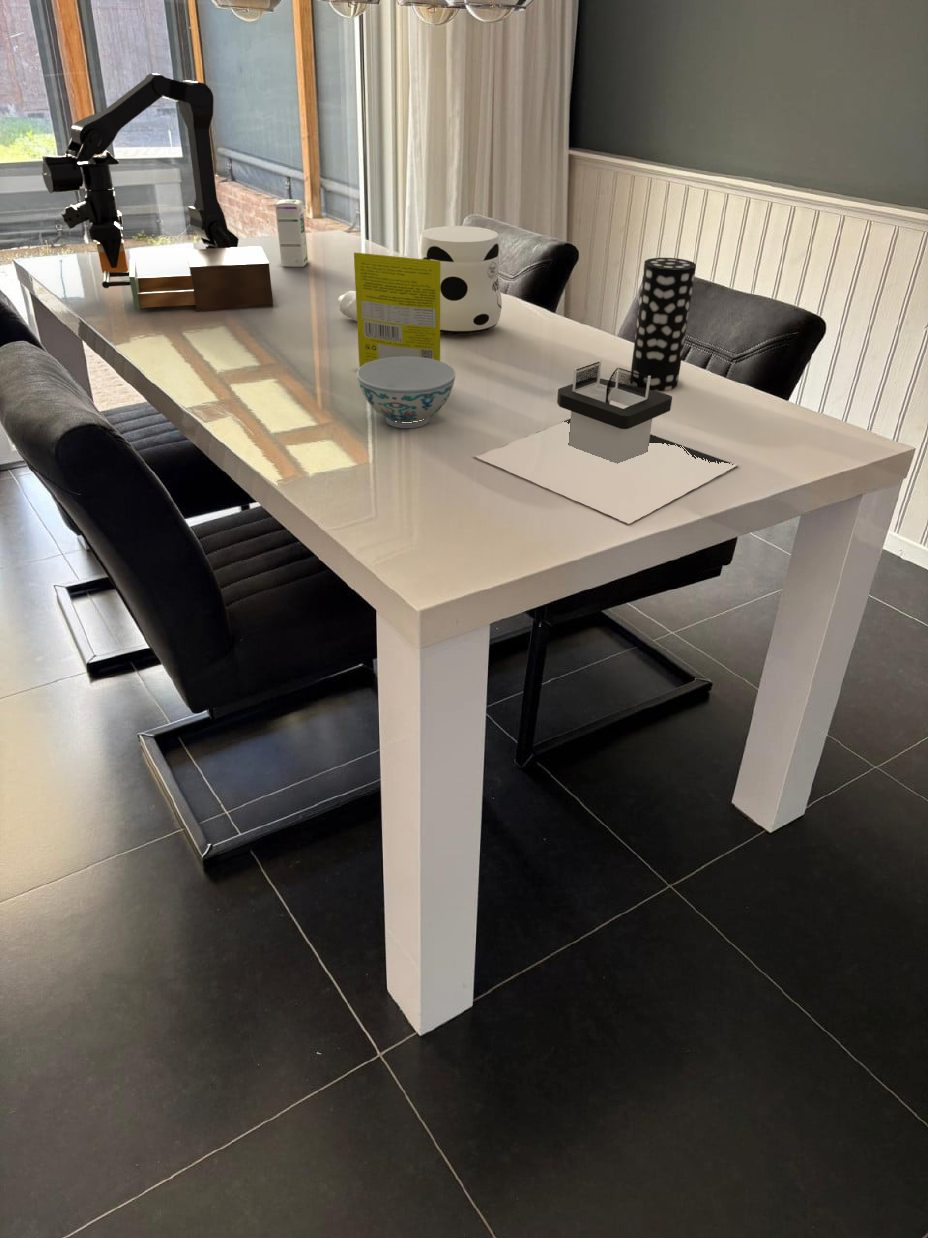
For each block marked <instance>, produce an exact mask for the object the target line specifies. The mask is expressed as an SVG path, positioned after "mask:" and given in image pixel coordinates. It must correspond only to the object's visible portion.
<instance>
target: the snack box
mask: <svg viewBox="0 0 928 1238" xmlns="http://www.w3.org/2000/svg"><path fill="white" fill-rule="evenodd" d="M96 249H97V253H98V254H97V255H98V258H99V263H100V264H99V265H100V269H101V273H102V274H103V273H104V272H105V271H108V272H128V271H129V268H130V267H129V262H128V257H127V252H126V246H125V242H124V239H122V240H121V246H120V252H119V257H118V263H117V267H116V268H112V267H111V265H110V263H109V261H108V258H107V256H106V253H105V251H104V249H103V247H102V245H101V244H100V243H99V242H98V241H96Z"/></svg>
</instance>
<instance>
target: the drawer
mask: <svg viewBox="0 0 928 1238" xmlns="http://www.w3.org/2000/svg"><path fill="white" fill-rule="evenodd" d="M128 268H129V269H128V272H108V271H105V272H104V273H102V281H101V286H102V287H103V288H104V289H108V288H110V287H124V286H125V287H126V286H129V287H130V289H131V294H132V300H133V305H134V309H135V311H138V310H139V311H140V310H141V309H142V308H143V309H144V308H145V309H146V308H161V307H162V308H163V307H179V306H196V303H195V296H194V290H193V283H192V276H191V275H190V274H182V275H181V274H180V275H165V276H164V275H162V276H161V275H160V276H143V277H142V276H141V277H140V276H139V277H138V275H139V274H138V271H137V265H136V259H135V258H130V259H129V267H128ZM117 277H118V278H121V277H128V278H129V280H115V281H114V280H112V281H111V278H117Z"/></svg>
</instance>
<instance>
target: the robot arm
mask: <svg viewBox="0 0 928 1238" xmlns="http://www.w3.org/2000/svg"><path fill="white" fill-rule="evenodd" d="M161 98H163V99H168V100H171V101H174V102H177V105H178V109H179V113H180V116H181V117H182V120H183V122H184V124H185V127H186V129H187V135H188V144H189V153H190V160H191V161H190V162H191V169H192V177H193V184H194V185H193V186H194V192H195V193H194V194H195V201H194V204H193V206H188V207H187V211H188V214H189V215H188V216H189V224H188V225H189V226H191V227H192V230H193V232H194V234H196V235H197V236H198V237H199V238H200V239H201V241H202V243H203V244H204V245H206V246H205V249H216V248H238V247H239V241H240V239H239V237H237V236H236V234H234V233H233V232H232V231H231V230H230V229H228V225H227V220H226V217H225V213H224V210H223V209H222V207H221V204H220V203H219V202H220V201H219V200H218V195H217V187H216V186H217V185H216V178H215V168H214V159H213V151H212V141H211V132H210V131H211V130H210V129H211V124H212V122H213V117H214V101H215V100H214V99H215V98H214V93H213V91H212V89H211V88H210V87H209V86H208V85H207V84H205V83H203V82H200V81H194V80H183V81H179V80H176V79H172V78H169V77H166V76H164V75H162V74H160V73H159V74H158V73H149V74H147V75H146V76H145V78H144V79H143V80H141V81H140V82H139V83H137V84H136V85H135V86H134V87H132V88H131V89H129V91H127V92H126V93H125V94H122V96H121V97H119V98H118V99H117V100H116V101H114V102H113V103H112V104H110V105H109V106H107V108H105V109H104V110H102V111H99V112H97V113H94V114H91V115H88V116H86V117H84V118H81V119H80V120H79V119H78V120H77V121H76V122H74V123H73V124H72V126H71V128H70V141H69V143H68V145H67V147H66V149H65V152H64V153H63V155H56V156H54V155H53V156H52V155H43V156H42V161H43V163H42V172H41V173H42V179H43V182H44V185H45V187H46V190H47V191H48V192H49V193H50V194H58V193H71V192H79V191H80V189H81V187H82V188H83V187H84V191H85V196H84V201H82V202H79V203H77V204H75V205H73V204H70V205H69V206H67V207H65V208H64V209H63V210H61V213H60V215H61V217H62V218H63V221H64V223H66V225H67V227H68V229H69V230H71V229H74V228H76V226H79V225H81V224H82V223H85V222H87V221H88V223H89V224H91V225H90V226H89V228H88V233H89V237H90V240H91V241H96V242H97V241H98V242H99V243H100V244H101V245H102V247H103V249H104V251H105V253H106V256H107V258H108V261H109V263H110V265H111V267H112V268H116V267H117V263H118V257H119V252H120V246H121V240H123V227H122V226H121V225H124V221H123V214H122V212H120V211H119V210H118V205H117V199H116V198H117V197H116V192H115V190H114V189H115V188H114V184H113V179H112V174H111V168H110V166H111V165H112V166H114V165H119V164H120V161H119V160H118V159H117V158H115V157H114V156H113V155H112V154H111V152H110V151H107V150H108V149H109V147H110V146H111V145H112V144H113V142H114V141H115V139H116V138H117V136H118V134H119V132H120V131H121V130H122V129H123V128H124V127H125V126H126V125H129V123H131V121H133V120H134V119H135V118H137V117H138V116H139V115H141V113H144V111H146V110H147V109H148V108H149V107H151V106H152V105H153V104H154V103H156V102H157V101H159V100H160V99H161ZM83 185H84V186H83Z"/></svg>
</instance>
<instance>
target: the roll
mask: <svg viewBox="0 0 928 1238" xmlns="http://www.w3.org/2000/svg"><path fill="white" fill-rule="evenodd" d="M337 302H338V303H339V311H340V313H341V314H343V316H345V317H347V318H349V319H351V320H352V321H355V322H356V323H357V308H356V290H349V291H346V292H345V293H344V294H341V295H340V296H339V297H338V300H337Z"/></svg>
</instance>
